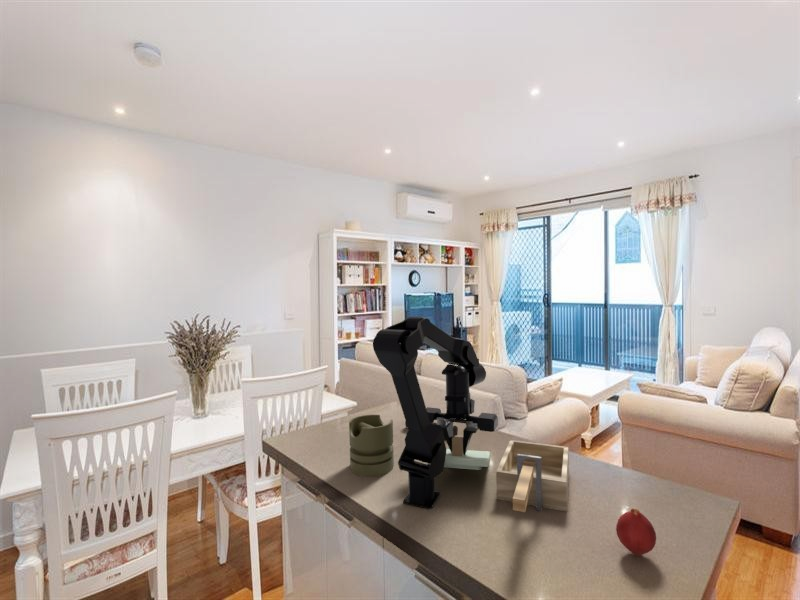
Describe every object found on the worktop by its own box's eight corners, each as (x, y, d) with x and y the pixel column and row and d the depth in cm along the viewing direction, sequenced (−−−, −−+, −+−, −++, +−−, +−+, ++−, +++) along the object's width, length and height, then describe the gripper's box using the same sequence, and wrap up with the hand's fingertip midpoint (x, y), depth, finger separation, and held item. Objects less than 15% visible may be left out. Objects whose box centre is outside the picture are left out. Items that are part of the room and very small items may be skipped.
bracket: (541, 511, 82) (540, 458, 82) (517, 507, 84) (516, 455, 84) (542, 509, 83) (541, 456, 82) (518, 505, 84) (517, 453, 84)
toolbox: (566, 511, 82) (566, 482, 81) (496, 499, 87) (496, 471, 87) (568, 471, 100) (568, 446, 100) (510, 462, 105) (510, 439, 105)
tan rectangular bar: (525, 512, 68) (524, 500, 68) (512, 509, 69) (512, 498, 69) (533, 476, 81) (533, 466, 81) (523, 475, 82) (522, 465, 81)
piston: (375, 412, 113) (401, 421, 104) (376, 454, 113) (402, 467, 104) (340, 420, 106) (365, 431, 97) (342, 466, 106) (366, 481, 97)
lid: (488, 471, 89) (488, 442, 90) (421, 466, 92) (422, 438, 94) (490, 460, 108) (489, 435, 110) (434, 456, 112) (435, 432, 113)
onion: (620, 539, 72) (619, 495, 72) (658, 552, 68) (658, 505, 68) (613, 556, 68) (612, 509, 67) (653, 571, 64) (652, 521, 64)
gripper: (501, 386, 104) (502, 446, 104) (432, 381, 111) (433, 437, 112) (493, 396, 94) (494, 463, 94) (418, 390, 101) (419, 452, 101)
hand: (458, 453), depth 100 cm, fingers closed on lid, 3 cm apart
